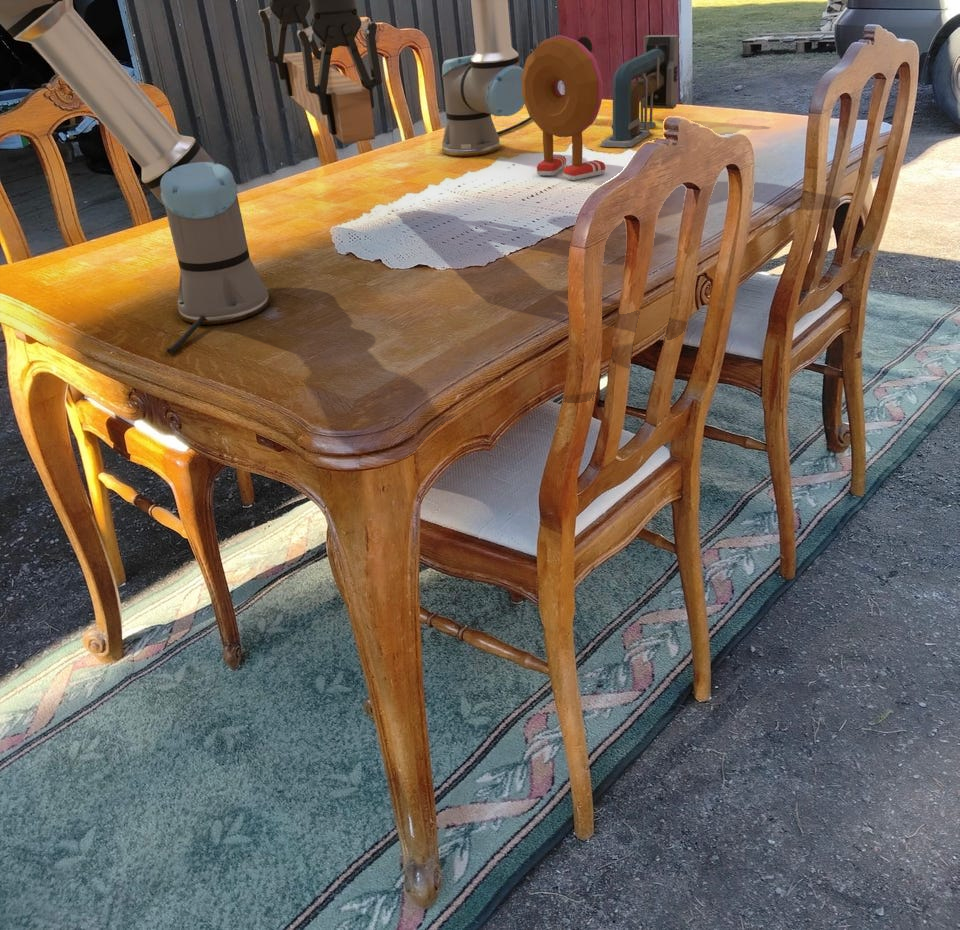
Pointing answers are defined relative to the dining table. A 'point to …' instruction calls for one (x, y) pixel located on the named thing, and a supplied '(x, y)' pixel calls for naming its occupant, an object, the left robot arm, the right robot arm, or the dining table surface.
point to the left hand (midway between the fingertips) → (350, 130)
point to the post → (334, 100)
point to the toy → (563, 100)
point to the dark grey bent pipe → (643, 90)
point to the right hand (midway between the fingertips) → (304, 93)
